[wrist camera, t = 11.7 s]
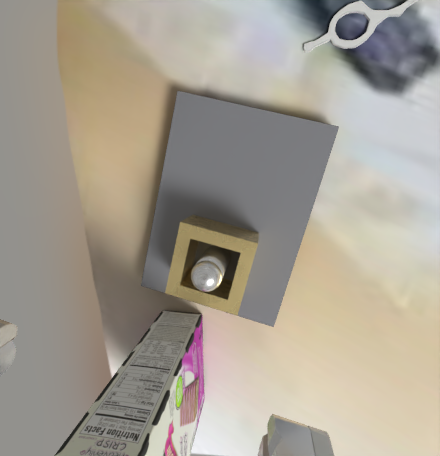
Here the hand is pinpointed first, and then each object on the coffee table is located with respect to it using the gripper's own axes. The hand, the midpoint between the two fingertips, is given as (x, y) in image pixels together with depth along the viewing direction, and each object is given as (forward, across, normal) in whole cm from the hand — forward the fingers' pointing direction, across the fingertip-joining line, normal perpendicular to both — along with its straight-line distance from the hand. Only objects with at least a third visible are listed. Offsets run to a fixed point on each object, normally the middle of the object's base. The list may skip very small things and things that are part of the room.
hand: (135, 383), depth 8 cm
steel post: (+18, 0, +2) cm, 18 cm away
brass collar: (+18, 0, +2) cm, 18 cm away
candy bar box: (+19, +1, +15) cm, 24 cm away
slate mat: (+19, 0, -2) cm, 19 cm away
